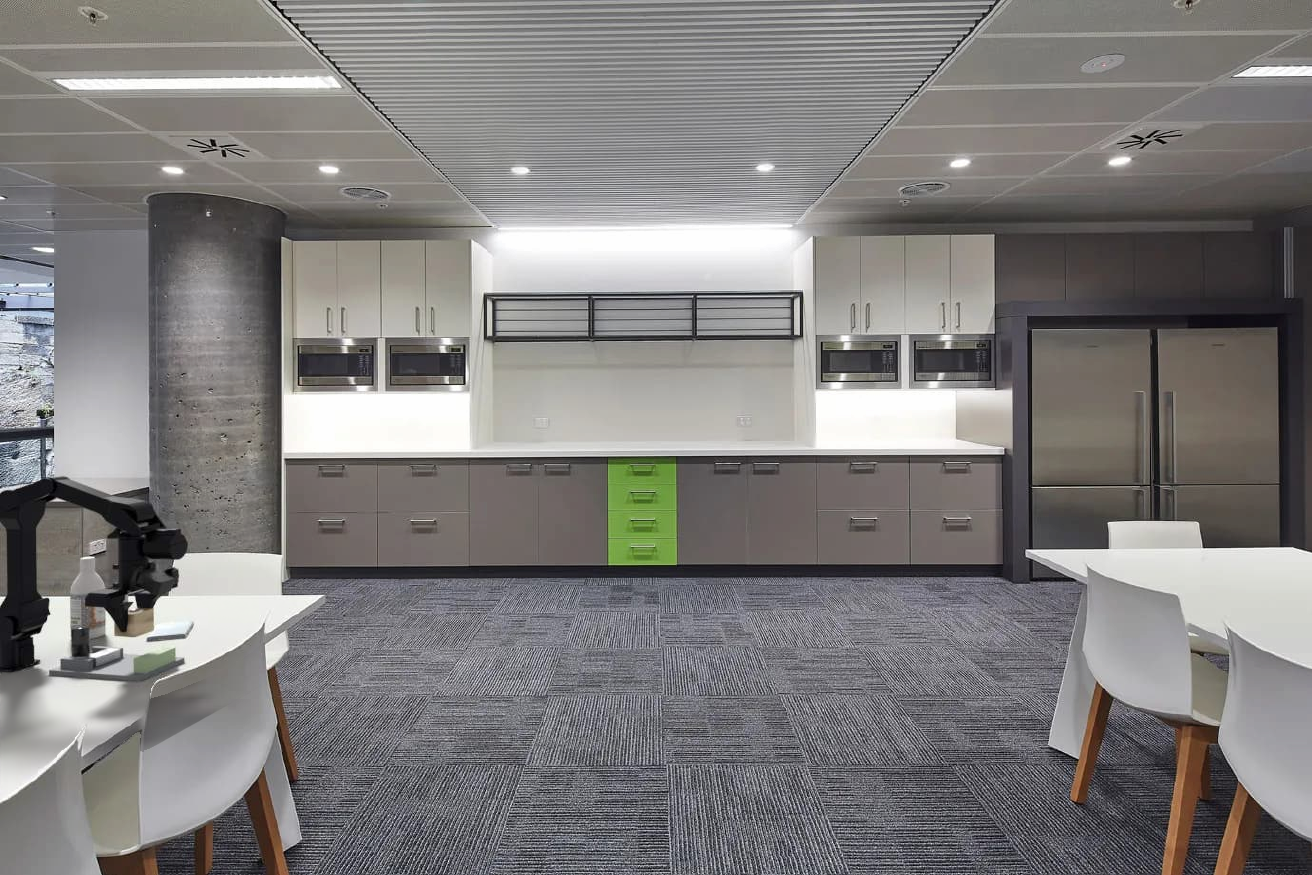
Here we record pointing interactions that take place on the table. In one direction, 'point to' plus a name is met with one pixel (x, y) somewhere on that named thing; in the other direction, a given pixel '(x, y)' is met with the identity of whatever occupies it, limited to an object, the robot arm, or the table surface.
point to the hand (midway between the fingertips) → (134, 628)
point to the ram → (82, 648)
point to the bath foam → (78, 610)
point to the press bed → (120, 665)
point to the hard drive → (170, 630)
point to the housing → (137, 622)
